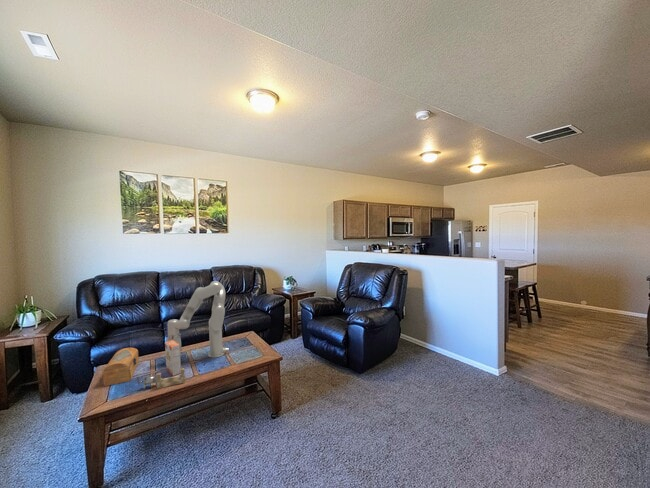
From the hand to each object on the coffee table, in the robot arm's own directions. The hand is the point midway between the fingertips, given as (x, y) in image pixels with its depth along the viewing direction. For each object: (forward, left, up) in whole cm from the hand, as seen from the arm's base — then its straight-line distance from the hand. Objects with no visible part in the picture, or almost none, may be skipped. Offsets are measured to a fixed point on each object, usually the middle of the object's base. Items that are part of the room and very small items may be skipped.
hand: (174, 359), depth 213 cm
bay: (0, +32, -3) cm, 32 cm away
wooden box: (+32, +2, -3) cm, 32 cm away
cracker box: (0, +16, -3) cm, 16 cm away
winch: (+13, +32, -3) cm, 35 cm away
